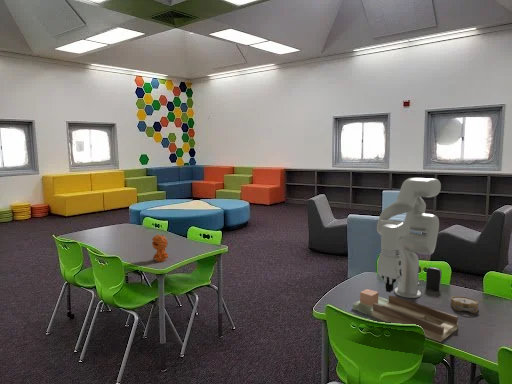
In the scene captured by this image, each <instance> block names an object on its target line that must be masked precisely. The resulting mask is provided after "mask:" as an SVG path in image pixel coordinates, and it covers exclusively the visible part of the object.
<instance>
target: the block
mask: <svg viewBox="0 0 512 384" xmlns="http://www.w3.org/2000/svg"><path fill="white" fill-rule="evenodd" d="M378 297H379V292H378V291H376V290H372V289H368V288H365V289H364V290H362V291H360V292H359V301H360V303H363V304H366V305H369V306H373V304H374V303H376V304H377V303H378Z"/></svg>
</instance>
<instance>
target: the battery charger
mask: <svg viewBox="0 0 512 384" xmlns="http://www.w3.org/2000/svg"><path fill="white" fill-rule="evenodd" d="M442 276H443V275H442V269H441V268H438V267H434V266H429V267H428V268H426V277H425V280H426V281H425V282H426V283H425V288H426V289H429V290H432V291H433V290H434V291H438V292H439V291H441V282H442V281H441V280H442Z"/></svg>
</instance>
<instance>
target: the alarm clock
mask: <svg viewBox="0 0 512 384" xmlns="http://www.w3.org/2000/svg"><path fill="white" fill-rule="evenodd" d="M450 305H451V307H452V308H453V309H454V310H455V311H457V310H458V312H461V311H465V312H469V313H470V312H471V313H470V314H476V313H477V312H478V311H479V301H478V300H476V299H474V298H472V297H467V296H460V295H456V296H455V295H454V296H451V298H450Z"/></svg>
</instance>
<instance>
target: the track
mask: <svg viewBox="0 0 512 384" xmlns="http://www.w3.org/2000/svg"><path fill="white" fill-rule="evenodd" d="M352 310H354V311H356V310H357V311H356V312H360V313H362V314H366V315H368V316H370V317H372V316H373V317H372V318H375V319H378V320H381V321H384V322H386V323H388V322H392V323H402V324H416V325H419V326H421V327H422V328H423V330H424V332H425V336H424V337H425V338H428V339H432V340H434V341H436V342H440V343H442V342H443V341H444V340H445V339H447V338H448V337H449V336H450V335H452V334H453V333H454V332H455V331H457V330H458V329H459V321H458V319H459V317H458V316H457V315H456V314H451V313H448V312H445V311H442V310H438V309H436V308H433V307H429V306H426V305H423V304H420V303H416V302H413V301H410V300H408V299H407V300H406V299H404V298H401V297H397V296H394V295H391V294H390V295H388V299H387V298H385V297H381V296H378V303H377V304H376V303H374V304H373V306H369V305H366V304H363V303H360V300H358V301H355V302H353V303H352Z"/></svg>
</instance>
